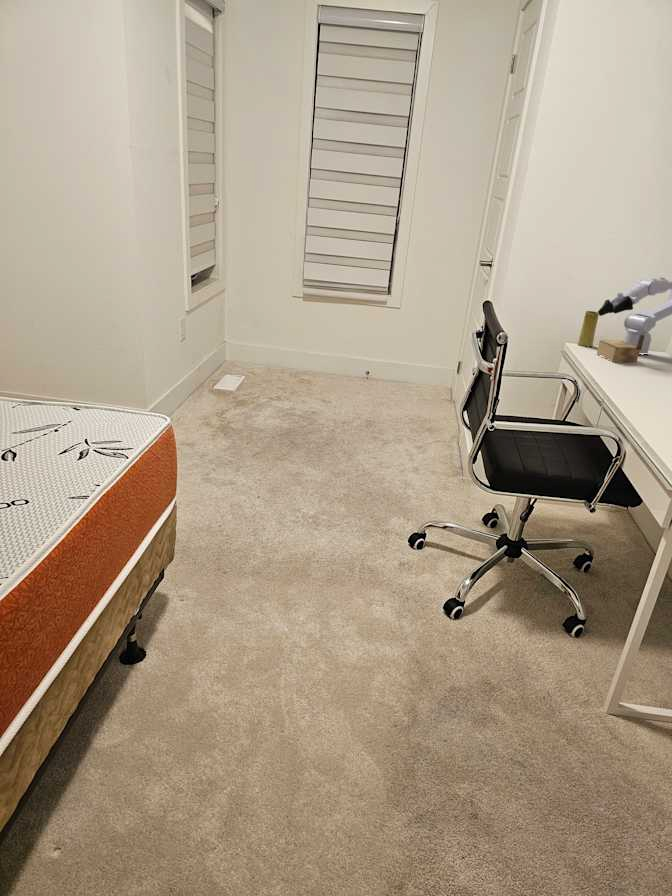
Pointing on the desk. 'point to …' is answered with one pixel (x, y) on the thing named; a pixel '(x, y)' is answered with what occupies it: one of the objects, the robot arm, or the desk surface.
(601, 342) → the carton
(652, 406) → the desk surface
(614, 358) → the wooden paddle
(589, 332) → the vase
